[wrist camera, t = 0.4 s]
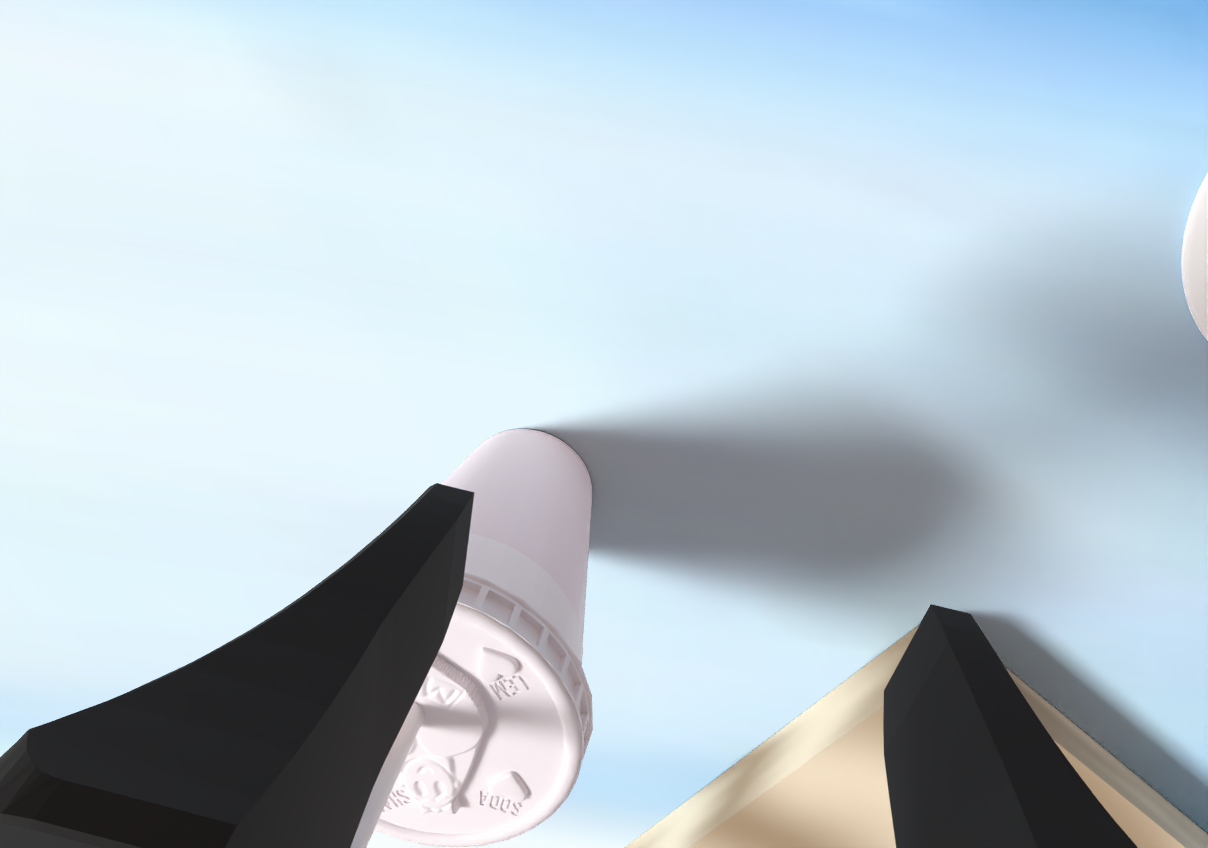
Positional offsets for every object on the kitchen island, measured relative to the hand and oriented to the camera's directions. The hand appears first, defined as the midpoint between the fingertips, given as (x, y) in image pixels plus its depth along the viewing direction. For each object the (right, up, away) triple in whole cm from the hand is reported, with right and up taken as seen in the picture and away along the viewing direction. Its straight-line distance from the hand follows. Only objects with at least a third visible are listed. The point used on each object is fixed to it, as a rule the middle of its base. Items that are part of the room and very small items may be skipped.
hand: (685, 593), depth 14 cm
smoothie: (-3, +1, +12) cm, 12 cm away
